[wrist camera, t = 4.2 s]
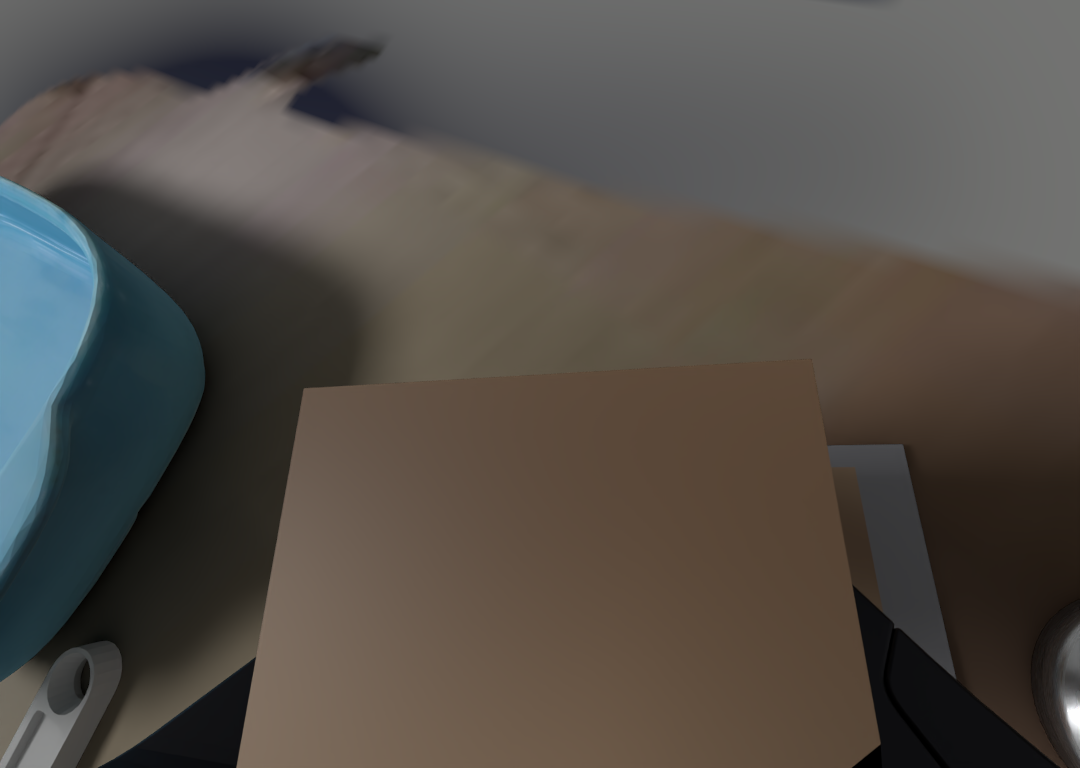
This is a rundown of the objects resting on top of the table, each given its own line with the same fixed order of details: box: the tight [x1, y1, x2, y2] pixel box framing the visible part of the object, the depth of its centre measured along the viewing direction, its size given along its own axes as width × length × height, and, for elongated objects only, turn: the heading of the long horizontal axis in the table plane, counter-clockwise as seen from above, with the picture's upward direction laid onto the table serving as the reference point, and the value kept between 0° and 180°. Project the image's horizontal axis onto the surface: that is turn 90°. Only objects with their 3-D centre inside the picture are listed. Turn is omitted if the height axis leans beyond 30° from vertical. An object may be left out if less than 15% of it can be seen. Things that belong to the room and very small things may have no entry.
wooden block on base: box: [237, 359, 883, 768], centre depth 8 cm, size 4×12×12 cm, turn 90°
